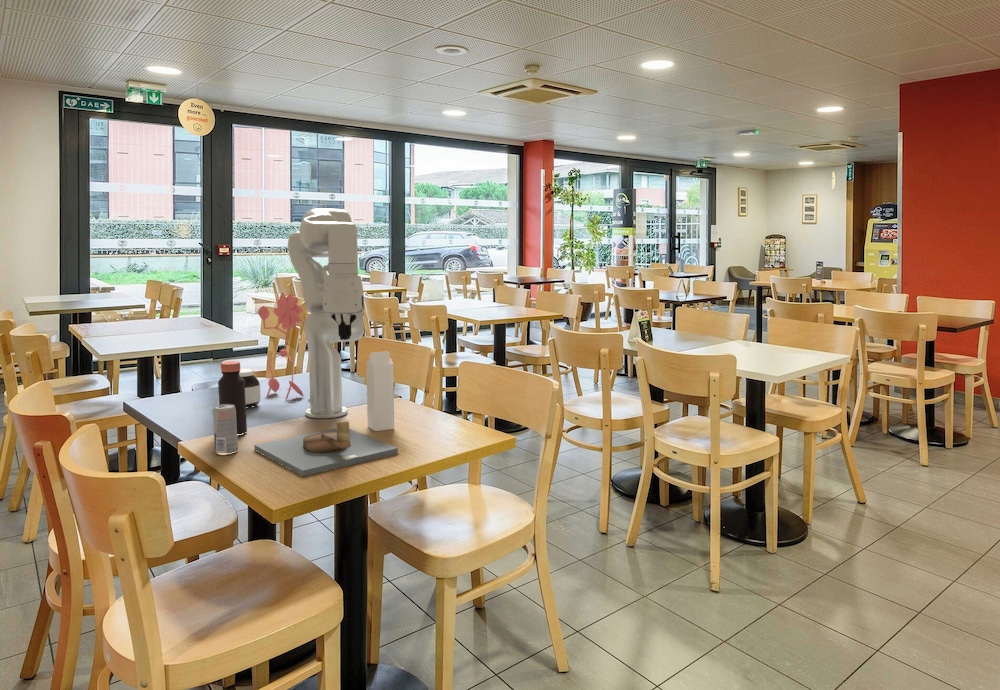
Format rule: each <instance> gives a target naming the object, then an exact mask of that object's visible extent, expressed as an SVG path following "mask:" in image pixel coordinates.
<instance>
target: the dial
mask: <svg viewBox="0 0 1000 690" xmlns="http://www.w3.org/2000/svg"><path fill="white" fill-rule="evenodd" d="M335 425H336V426H335V427H336V428H337V432H321V431H320V432H321V433H316V432H314V433H315V434H311V433H310V434H311V435H308V436H306V437H304V438H303V448H304V449H305V450H307V451H311V452H332V451H337V450H341V449H344V448H347V447H351V441H350V440H349V429H350V421H348V420H339V421H336V422H335ZM336 428H335V429H336Z"/></svg>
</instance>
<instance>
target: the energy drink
mask: <svg viewBox="0 0 1000 690" xmlns="http://www.w3.org/2000/svg"><path fill="white" fill-rule="evenodd" d="M212 419H213V437H214V453H215V452H217V453H232V452H235V451H237V450H239V449H238V448H239V447H238V436H237V423H236V408H235V405H233V404H221V405H217V404H216V405H213V409H212ZM237 452H238V451H237Z"/></svg>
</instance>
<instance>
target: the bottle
mask: <svg viewBox="0 0 1000 690" xmlns="http://www.w3.org/2000/svg"><path fill="white" fill-rule="evenodd" d="M240 369H241V362H240V361H236V360H235V361H234V360H232V361H231V360H229V361H223V362H221V363H220V371H221V374H222V376H221V377H220V378H219V380H218V382H217V387H218V395H219V405H221V404H233V405H235V408H236V423H237V434H242V433H245V432H248V427H247V426H248V425H247V409H246V401H245V381H244V379H243V378H242V377H241V376H240V375H239V372H240Z"/></svg>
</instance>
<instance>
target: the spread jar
mask: <svg viewBox="0 0 1000 690" xmlns="http://www.w3.org/2000/svg"><path fill="white" fill-rule="evenodd" d="M239 375H240V376H241V377H242V378H243V379H244V381H245V401H246V407H252V406H255V407H256V406H258V405H259V403H260V402H261V383H260V381H259V379H258V378H257V377H256V376H255V369H253V368H240V372H239ZM216 405H219V394H218V396H217V401H216ZM252 408H253V407H252Z"/></svg>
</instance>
